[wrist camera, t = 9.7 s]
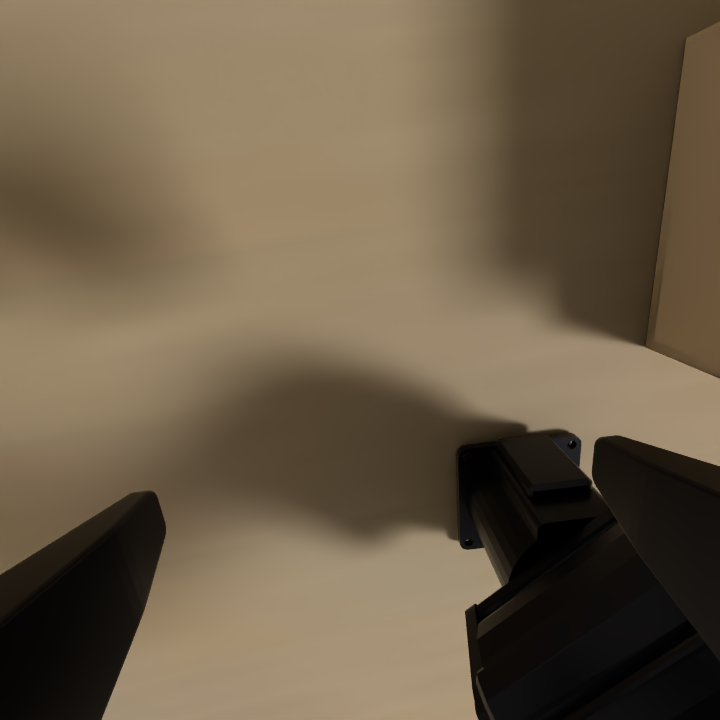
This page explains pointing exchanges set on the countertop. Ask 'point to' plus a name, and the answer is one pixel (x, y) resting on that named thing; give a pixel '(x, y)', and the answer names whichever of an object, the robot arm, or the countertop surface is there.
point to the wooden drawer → (692, 218)
